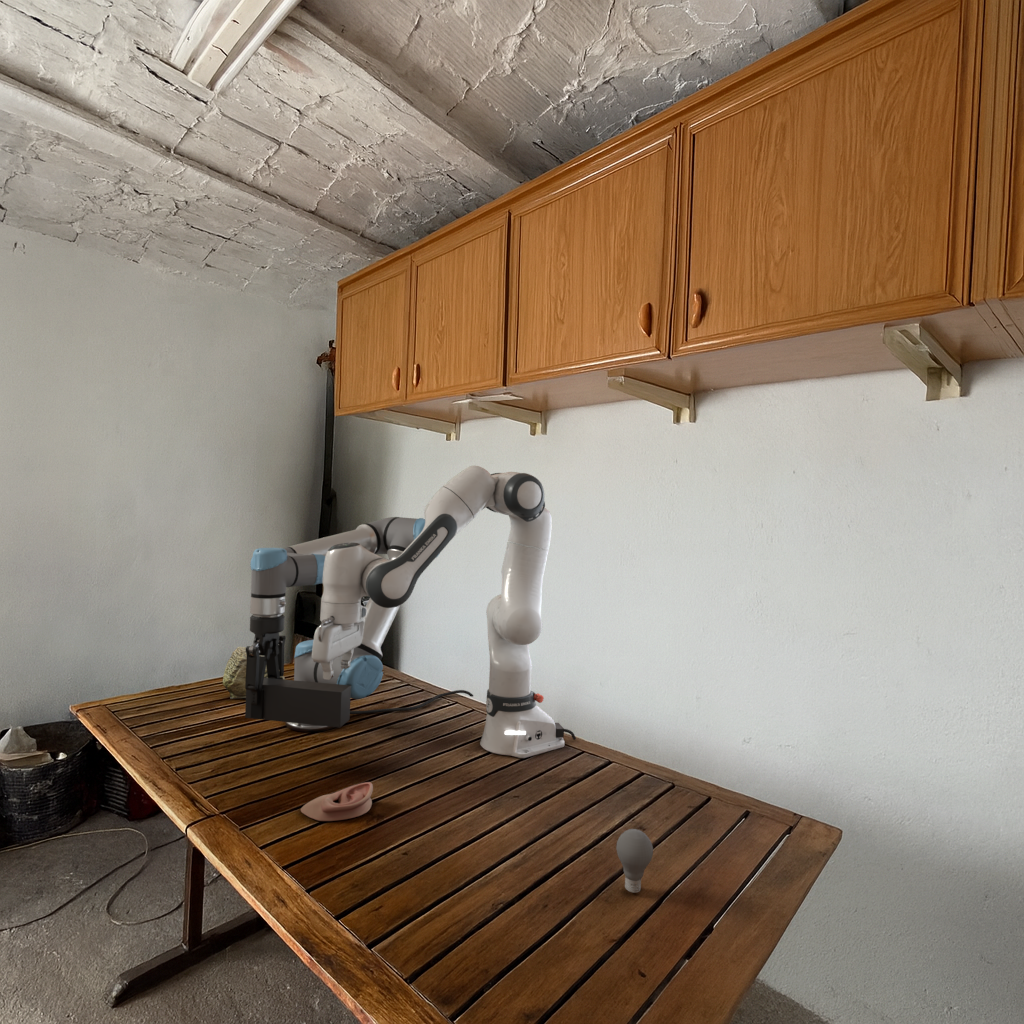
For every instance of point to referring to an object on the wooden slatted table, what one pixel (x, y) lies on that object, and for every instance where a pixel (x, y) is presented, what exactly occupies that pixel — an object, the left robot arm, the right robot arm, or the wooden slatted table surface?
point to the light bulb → (634, 857)
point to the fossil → (237, 673)
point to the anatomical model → (341, 804)
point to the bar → (304, 702)
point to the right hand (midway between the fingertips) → (336, 673)
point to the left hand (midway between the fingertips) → (264, 713)
